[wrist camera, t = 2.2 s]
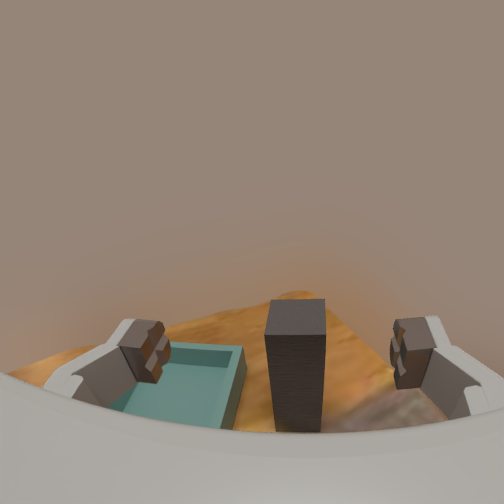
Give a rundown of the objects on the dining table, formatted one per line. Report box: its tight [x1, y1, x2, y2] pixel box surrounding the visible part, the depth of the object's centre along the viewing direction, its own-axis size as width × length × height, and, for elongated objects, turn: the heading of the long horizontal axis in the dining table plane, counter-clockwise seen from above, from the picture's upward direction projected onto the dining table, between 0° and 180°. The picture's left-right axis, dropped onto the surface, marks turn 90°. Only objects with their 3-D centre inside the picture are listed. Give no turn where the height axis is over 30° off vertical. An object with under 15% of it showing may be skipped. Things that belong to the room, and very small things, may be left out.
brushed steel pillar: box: [264, 299, 326, 432], centre depth 28 cm, size 5×5×14 cm
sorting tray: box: [106, 342, 247, 430], centre depth 33 cm, size 14×14×4 cm
